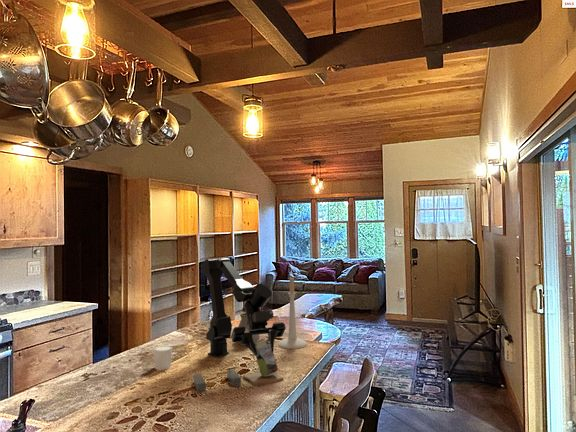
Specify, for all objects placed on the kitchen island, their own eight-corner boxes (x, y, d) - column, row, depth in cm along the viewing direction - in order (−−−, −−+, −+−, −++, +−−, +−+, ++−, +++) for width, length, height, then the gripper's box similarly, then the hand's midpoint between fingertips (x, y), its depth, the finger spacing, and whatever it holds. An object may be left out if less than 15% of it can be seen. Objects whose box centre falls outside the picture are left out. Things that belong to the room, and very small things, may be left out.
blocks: (193, 382, 132) (193, 374, 132) (233, 376, 137) (233, 369, 137) (198, 392, 124) (198, 384, 124) (240, 385, 129) (240, 377, 129)
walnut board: (243, 377, 136) (243, 375, 136) (267, 371, 142) (267, 369, 142) (258, 386, 128) (257, 384, 128) (283, 379, 134) (283, 377, 134)
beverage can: (276, 377, 132) (271, 340, 132) (255, 379, 133) (250, 343, 134) (280, 370, 138) (275, 336, 139) (259, 372, 139) (255, 338, 140)
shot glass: (176, 365, 150) (176, 346, 150) (163, 371, 143) (163, 351, 144) (162, 363, 152) (162, 344, 153) (149, 368, 146) (149, 349, 147)
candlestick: (301, 350, 168) (300, 278, 169) (273, 347, 172) (273, 278, 174) (310, 342, 180) (309, 275, 181) (284, 339, 184) (283, 275, 186)
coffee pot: (255, 347, 173) (254, 312, 174) (230, 345, 176) (230, 311, 176) (268, 334, 194) (268, 304, 195) (246, 333, 196) (246, 303, 197)
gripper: (233, 303, 136) (242, 344, 125) (283, 299, 143) (296, 337, 132) (227, 322, 143) (235, 362, 132) (276, 317, 150) (287, 355, 139)
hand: (264, 353), depth 134 cm, fingers closed on beverage can, 5 cm apart
